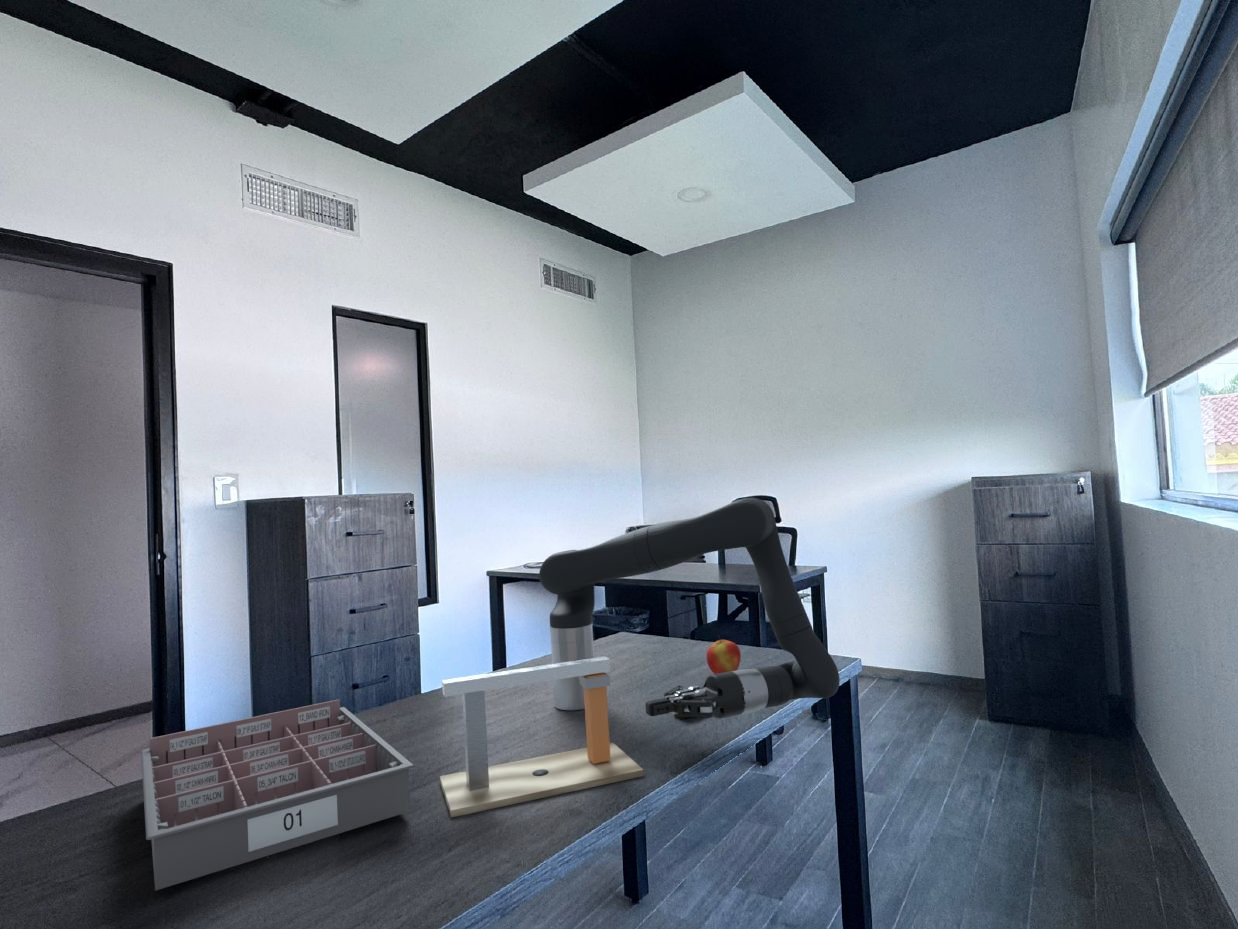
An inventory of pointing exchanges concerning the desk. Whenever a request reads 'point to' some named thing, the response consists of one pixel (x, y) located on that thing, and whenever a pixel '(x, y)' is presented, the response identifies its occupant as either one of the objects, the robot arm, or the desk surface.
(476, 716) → the bar
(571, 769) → the board
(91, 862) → the desk surface
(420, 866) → the desk surface
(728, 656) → the apple
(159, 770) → the organizer tray
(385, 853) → the desk surface
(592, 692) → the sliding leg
